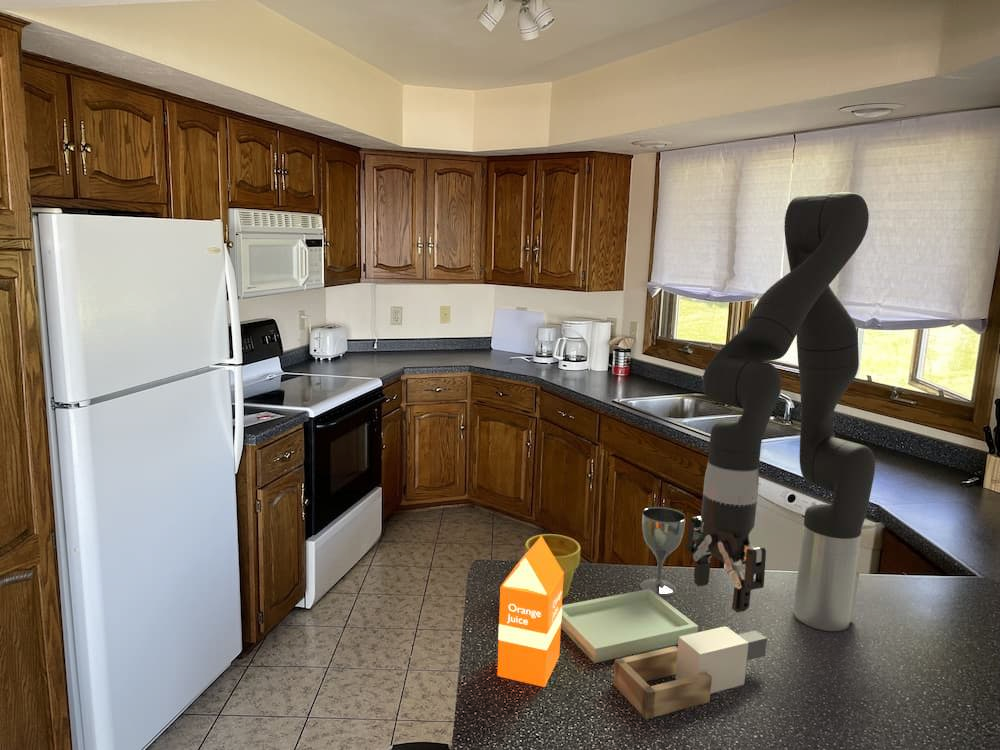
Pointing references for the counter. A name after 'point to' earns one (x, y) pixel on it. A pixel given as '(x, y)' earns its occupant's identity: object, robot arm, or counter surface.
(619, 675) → the dock
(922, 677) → the counter surface
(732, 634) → the cream and grey blocks
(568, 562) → the plant pot
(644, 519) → the wine glass
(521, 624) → the orange juice
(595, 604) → the tray
